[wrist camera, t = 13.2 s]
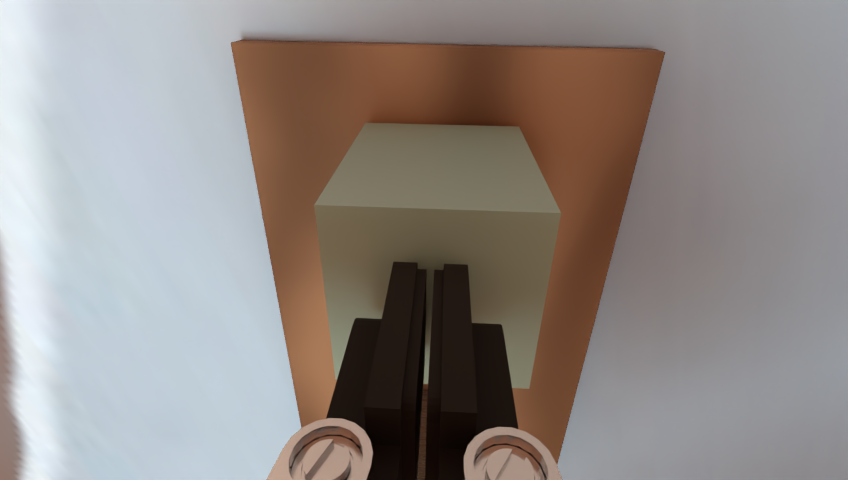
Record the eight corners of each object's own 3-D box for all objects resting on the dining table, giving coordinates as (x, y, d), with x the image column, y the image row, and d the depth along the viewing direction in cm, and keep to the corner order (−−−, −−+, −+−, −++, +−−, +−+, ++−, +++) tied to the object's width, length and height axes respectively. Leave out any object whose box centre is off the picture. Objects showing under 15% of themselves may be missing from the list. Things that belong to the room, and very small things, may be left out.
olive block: (519, 126, 15) (560, 213, 9) (503, 257, 18) (529, 388, 12) (365, 122, 15) (313, 204, 9) (372, 252, 18) (335, 379, 12)
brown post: (458, 390, 22) (461, 529, 16) (455, 425, 23) (457, 564, 18) (406, 388, 22) (391, 525, 17) (406, 422, 23) (392, 560, 18)
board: (654, 49, 15) (665, 52, 14) (551, 461, 26) (554, 474, 25) (240, 39, 15) (230, 42, 15) (311, 447, 26) (307, 460, 26)
